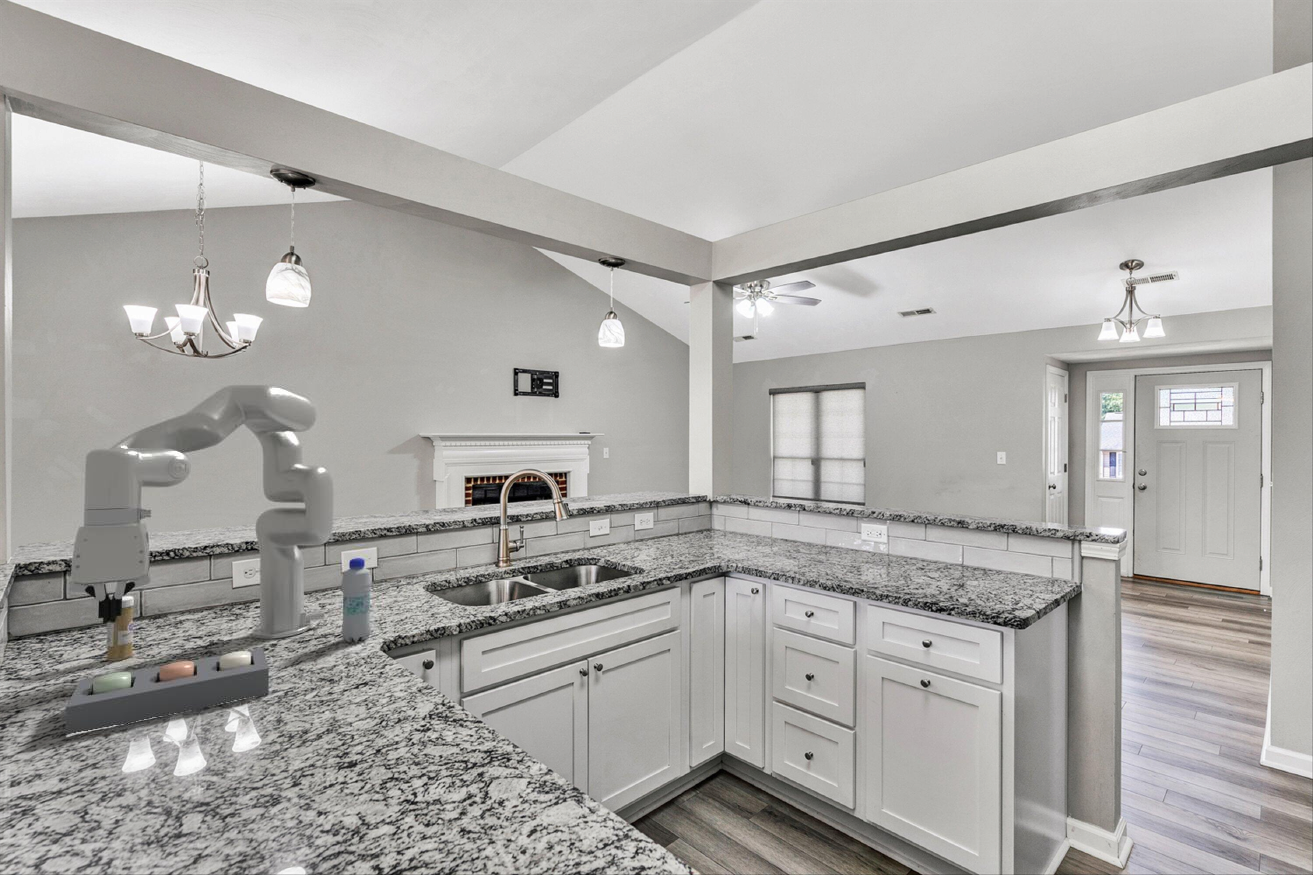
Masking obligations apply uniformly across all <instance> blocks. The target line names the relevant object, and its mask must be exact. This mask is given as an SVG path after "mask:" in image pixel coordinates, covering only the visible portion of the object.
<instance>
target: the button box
mask: <svg viewBox="0 0 1313 875" xmlns="http://www.w3.org/2000/svg"><path fill="white" fill-rule="evenodd" d="M247 651H248V652H251V665H249V666H244V667H238V668H233V669H228V670H222V671H220V657H221V656H223V655H224V654H223V655H217V656H211V657H205V658H198V659H194V660H192V659H191V661H192V662H194V676H190V677H185V678H179V679H174V680H169V681H163V682H160V668H161V667H163V666H165V665H166V664H165V665H164V664H163V665H160V666H159V665H158V666H154V667H153V666H152V667H148V668H141V669H136V670H135V669H134V670H129V671H128V672H129V673H131V688H126V689H120V690H115V691H110V692H104V693H99V694H94V695H93V680H94V679H96V678H98V677H101V676H102V675H100V676H97V677H91V678H85V679H84V678H83V679H80V680H79V681H78V683H77V686H76V688H75V690H74V691H73V694H72V695H71V697H70V699H69V701H68V703H67V704H66V706H65V735H66V734H71V733H76V732H81V731H88V730H93V729H98V728H102V727H109V726H113V725H121V724H128V723H131V722H136V721H139V720H144V719H149V718H152V717H159V716H165V715H169V714H174V713H179V714H182V713H181V712H184V713H187V712H186V711H188V712H190V711H189V710H193V711H196V709H198V710H201V709H200V708H202V709H205V708H204V707H207V708H209V707H208V706H212V707H214V706H213V705H216V706H218V705H217V704H221V703H226V702H230V703H232V702H231V701H234V700H239V699H244V698H249V697H253V696H258V697H261V696H260V695H263V696H265V695H264V694H268V695H269V689H270V688H269V685H270V684H269V683H270V682H269V680H270V679H269V677H270V676H269V674H270V673H269V672H270V670H269V664H268V662H267V661H268V660H267V658H266V654H265V651H264V648H257V649H251V650H250V649H249V650H247ZM249 699H250V698H249ZM244 700H245V699H244ZM226 704H227V703H226ZM221 705H222V704H221ZM174 715H175V714H174ZM165 717H166V716H165ZM128 725H129V724H128Z"/></svg>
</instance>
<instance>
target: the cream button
mask: <svg viewBox="0 0 1313 875" xmlns="http://www.w3.org/2000/svg"><path fill="white" fill-rule="evenodd" d="M248 651H249V650H246V651H245V650H243V651H234V652H229V653H226V654H223V656H221V655H220V656H221V657H220V671H222V670H228V669H233V668H238V667H244V666H249V665H251V652H248Z"/></svg>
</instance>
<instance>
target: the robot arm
mask: <svg viewBox="0 0 1313 875" xmlns="http://www.w3.org/2000/svg"><path fill="white" fill-rule="evenodd" d="M316 419H317V411H316V408H315V406H314V404H313V402H311V401H310V400H309V399H307V398H306V397H303V396H301V395H298V394H296V393H293V392H291V391H289V390H286V389H283V388H280V387H278V386H274V385H271V384H270V385H269V384H231V385H227V386H224V387H222V388H220V389H219V390H218V391H216V392H214V393H213V394H212V395H210V396H208V397H207V398H206V399H205V400H203V401H201V402H200V403H199V404H197V405H196V406H194V407H193V408H191V410H189V411H187V412H186V413H183V414H181V415H179V416H176V417H172V418H168V419H167V420H164V421H162V422H158V423H155V424H153V425H150V426H147V427H144V428H141V429H139V430H137V431H135V432H133V433H131V434H129V435H128V436H126V437H125V438H123V439H121V440H120V441H119V442H117V443H116V444H114V445H113V446H111V447H110V448H101V449H100V448H99V449H93V450H91V451H89V452H88V453H87V454H86V456H85V469H84V470H85V472H84V474H85V475H84V503H83V504H84V505H83V506H84V508H83V526H78V528H77V529H78V530H77V532H76V536H75V541H74V545H73V550H72V561H71V571H70V577H71V578H70V580H71V582H70V584H69V587H68V591H69V592H73V593H87V595H89V596H91V597H92V598H94V599H96V601H97V602H98V610H97V611H98V614H97V615H98V619H102V624H107V622H109V621H110V622H111V623H112V622H116V620H117V616H121V615H122V597H123V596H125V595H127V594H128V593H129V592H131V591H132V590H133V589H135V588H138V587H141V586H142V587H143V586H146V585H148V584H150V582H151V581H152V580H151V577H150V573H149V571H150V562H151V561H150V540H149V533H148V532H149V531H148V528H147V524H146V523H143V522H141V520H143V519H146V518H151V517H152V510H151V509H144V508H142V488H169V487H174V486H177V485H178V484H181V483H182V482H184V481H185V480H186V479H187V478H188V476H189V475H190V473H191V468H192V467H191V461H190V460H189V457H187V456H186V455H185V454H186V453H191V452H197V451H200V450H205V449H209V448H212V447H214V446H217V445H219V444H220V443H222V442H223V441H224V440H225V439H226V438H227V437H228V436H230V435H231V434H232V433H234V432H235V431H236V430H237V429H239V428H240V427H241V426H242V425H244V426H245V427H246V428H247V429H248V430H249V431H251V433H253V435H254V436H255V437H256V438H257V439H258V441H259V443H260V445H261V448H262V488H263V494H264V497H265V498H266V499H267V500H268V501H269V502H272V503H273V502H274V503H282V504H283V503H287V504H289V503H293V504H295V503H297V504H304V505H305V506H304V507H275V508H274V507H273V508H270V509H267V510H265V511H263V512H262V513H261V514H260V515H259V516H258V518H257V519H256V523H255V534H256V539H257V543H258V548H259V549H258V550H259V564H260V567H259V568H260V569H259V571H260V572H259V576H260V577H259V626H257V627H255V628H254V629H253V630H252V634H251V636H252V637H254V638H255V639H260V640H261V639H263V640H265V639H266V640H269V639H272V640H273V639H279V638H287V637H292V636H297V635H300V634H302V633H304V632H306V631H308V630H309V629H310V628H311V621H315V620H316V621H318V620H324V619H325V612H324V611H322V610H321V611H317V610H315V611H309V612H308V611H306V609H305V608H304V606H305V605H304V602H305V600H304V598H305V597H304V594H305V593H304V591H305V590H304V589H305V586H304V585H305V582H304V581H305V580H304V578H305V576H304V574H305V570H304V569H305V562H304V557H303V554H302V552H301V551H300V548H299V547H298V546H320V545H323V544H326V543H327V542H328V541H329V540H330V538H331V536H332V533H333V528H334V482H333V478H332V475H331V473H330V471H328V470H327V469H326V468H325V467H323V466H320V465H304V464H303V450H302V448H303V447H302V444H301V442H300V440H299V438H298V436H297V434H295V433H303V432H306V431H308V430H310V429H311V428H313V426H314V425H315V423H316ZM107 583H116V586H115V592H114V593H113V595H112V596H111V598H110V594H108V592H107V591H108V590H107V585H106V584H107Z"/></svg>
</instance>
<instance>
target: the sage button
mask: <svg viewBox="0 0 1313 875" xmlns="http://www.w3.org/2000/svg"><path fill="white" fill-rule="evenodd" d="M100 676H101V677H100ZM100 676H97V677H98V678H96V679H94V680H93V695H94V694H99V693H104V692H110V691H115V690H120V689H126V688H131V673H129V671H120V672H114V673H113V672H112V673H108V674H104V675H100Z"/></svg>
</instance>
